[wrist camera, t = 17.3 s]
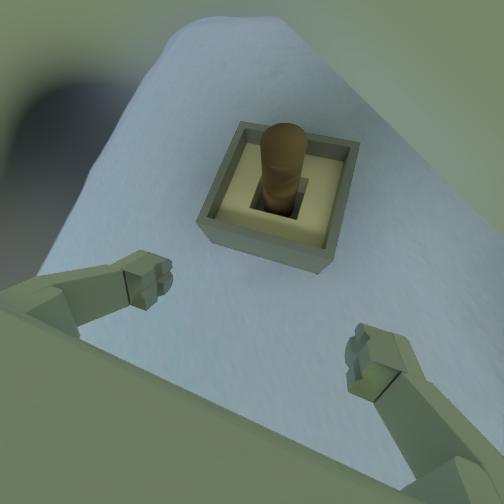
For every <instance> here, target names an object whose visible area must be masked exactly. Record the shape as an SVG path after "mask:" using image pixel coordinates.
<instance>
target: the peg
mask: <svg viewBox="0 0 504 504" xmlns="http://www.w3.org/2000/svg"><path fill="white" fill-rule="evenodd" d="M307 142H308V140H307V135H306V133H305V132H304V131H303V129H301V128H300V127H298V126H297V125H294V124H290V123H280V124H276V125H273V126H271V127H269V128H268V129H267V130H265V132H264V133H263V134H262V136H261V139H260V150H261V165H262V181H263V197H264V210H265V212H267V213H271V214H275V215H279V216H282V217H286V218H288V217H289V216H290V215H291V214H292V212H293V209H294V205H295V200H296V195H297V190H298V186H299V181H300V176H301V171H302V167H303V162H304V157H305V152H306V147H307Z"/></svg>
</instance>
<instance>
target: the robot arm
mask: <svg viewBox="0 0 504 504" xmlns="http://www.w3.org/2000/svg"><path fill="white" fill-rule="evenodd" d="M172 268H173V267H172V261H171V260H169V259H167V258H164V257H161V256H158V255H156V254H153V253H150V252H147V251H144V250H138V251H136V252H134V253H132V254H131V255H129V256H127V257H125V258H123V259H121V260H119V261H117V262H115V263H113V264H112V265H110V266H109V265H101V266H95V267H89V268H84V269H78V270H72V271H66V272H60V273H54V274H49V275H43V276H37V277H33V278H31V279H29V280H26V281H24V282H22V283H19V284H17V285H15V286H13V287H10V288H8V289H6V290H3V291H1V292H0V504H504V456H503V455H502V454H501V453H500V452H499V451H498V450H497V449H496V448H495V447H494V446H493V445H492V444H491V443H490V442H489V441H488V440H487V439H486V438H485V437H484V436H483V435H482V434H481V433H480V432H479V431H478V430H477V429H476V428H475V427H474V426H473V424H472V423H471V422H470V421H469V420H468V419H467V418H466V417H465V416H464V415H463V414H462V413H461V412H460V411H459V410H458V409H457V408H456V407H455V406H454V405H453V404H452V403H451V402H450V401H449V400H448V399H447V398H446V397H445V396H444V395H443V394H442V393H441V392H440V391H439V390H438V389H437V388H436V387H435V386H434V385H433V384H432V383H431V382H428V381H426V379H425V377H424V374H423V372H422V370H421V367H420V365H419V363H418V361H417V358H416V356H415V354H414V352H413V349H412V347H411V345H410V342H409V340H408V339H407V338H406V337H404V336H401V335H398V334H395V333H391V332H387V331H384V330H381V329H378V328H375V327H372V326H369V325H365V324H362V323H359V324H358V325H357V327H356V328H355V336H353V337H350V339H349V341H348V343H347V345H346V349H345V363H346V364H347V366H348V367H349V370H348V372H347V373H346V377H347V388H348V392H349V393H351V394H354V395H356V396H358V397H361V398H363V399H365V400H368V401H370V402H372V403H374V406H375V408H376V410H377V411H378V413H379V415H380V416H381V418H382V420H383V422H384V423H385V425H386V427H387V429H388V430H389V432H390V434H391V436H392V437H393V439H394V441H395V443H396V444H397V446H398V448H399V450H400V451H401V453H402V455H403V457H404V458H405V460H406V462H407V464H408V465H409V467H410V469H411V471H412V472H413V474H414V476H415V478H416V479H417V480H415V481H414V482H412V483H410V484H409V485H407V486H405V487H404V488H403V489H402V490H401V491H399V490H397V489H395V488H392V487H390V486H388V485H386V484H384V483H382V482H380V481H378V480H376V479H373V478H371V477H369V476H367V475H365V474H363V473H361V472H359V471H357V470H354V469H352V468H350V467H348V466H346V465H344V464H342V463H340V462H338V461H335V460H333V459H331V458H329V457H327V456H325V455H323V454H321V453H319V452H316V451H314V450H312V449H310V448H308V447H306V446H304V445H302V444H300V443H298V442H295V441H293V440H291V439H289V438H287V437H285V436H283V435H281V434H279V433H277V432H274V431H272V430H270V429H268V428H266V427H264V426H262V425H260V424H258V423H255V422H253V421H251V420H249V419H247V418H245V417H243V416H241V415H239V414H237V413H234V412H232V411H230V410H228V409H226V408H224V407H222V406H220V405H218V404H216V403H213V402H211V401H209V400H207V399H205V398H203V397H201V396H199V395H197V394H194V393H192V392H190V391H188V390H186V389H184V388H182V387H180V386H178V385H175V384H173V383H171V382H169V381H167V380H165V379H163V378H161V377H159V376H156V375H154V374H152V373H150V372H148V371H146V370H144V369H142V368H140V367H137V366H135V365H133V364H131V363H129V362H127V361H125V360H123V359H121V358H118V357H116V356H114V355H112V354H110V353H108V352H106V351H104V350H102V349H99V348H97V347H95V346H93V345H91V344H89V343H87V342H85V341H83V340H80V339H79V338H80V333H79V331H78V328H77V327H78V326H80V325H83V324H85V323H88V322H90V321H93V320H95V319H98V318H100V317H103V316H105V315H108V314H110V313H113V312H115V311H118V310H120V309H122V308H125V307H127V306H129V305H132V306H134V307H137V308H140V309H143V310H145V311H147V310H148V309H149V308H150V307H151V306H152V305H153V304H155V303H156V302H157V300H158V297H159V296H162V295H165V294H166V293H167V292H168V291H169V289H170V288H171V286H172V283H173V275H172V273H171V272H170V270H171V269H172Z"/></svg>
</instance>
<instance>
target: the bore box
mask: <svg viewBox="0 0 504 504" xmlns="http://www.w3.org/2000/svg"><path fill="white" fill-rule="evenodd" d="M269 127H270V126H265V125H259V124H253V123H248V122H242V121H240V123H239V126H238V128H237V130H236V132H235V135H234V137H233V139H232V141H231V144H230V146H229V148H228V150H227V153H226V155H225V157H224V159H223V162H222V164H221V166H220V168H219V171H218V173H217V175H216V177H215V180H214V182H213V184H212V187H211V189H210V191H209V193H208V196H207V198H206V200H205V202H204V205H203V207H202V209H201V211H200V214H199V216H198V218H197V220H196V223H197V225H198V226H199V227H200V228H201V230H202V231H203V232H204V233H205V235H206V236H207V237H208V239H209V240H210V241H211V242H212V243H215V244H218V245H221V246H225V247H228V248H231V249H235V250H238V251H242V252H245V253H248V254H252V255H255V256H258V257H262V258H265V259H269V260H272V261H275V262H279V263H282V264H285V265H289V266H292V267H296V268H299V269H302V270H306V271H309V272H312V273H316V274H319V273H320V272H321V271H322V270H323V269H324V268H326V267H327V266H328V265H329V264H330V263H331V262H332V261H333V258H334V254H335V250H336V245H337V241H338V237H339V232H340V228H341V224H342V219H343V215H344V211H345V206H346V202H347V198H348V193H349V189H350V185H351V180H352V176H353V172H354V167H355V163H356V159H357V154H358V150H359V146H360V142H354V141H349V140H343V139H337V138H332V137H326V136H321V135H315V134H309V133H306V135H307V140H308V142H307V147H306V152H305V157H304V162H303V167H302V171H301V176H300V181H299V186H298V190H297V195H296V200H295V205H294V209H293V212H292V214H291V215H290V216H289V217H288V218H286V217H282V216H279V215H275V214H271V213H267V212H265V210H264V197H263V181H262V165H261V150H260V139H261V136H262V134H263V133H264V132H265V130H267V129H268V128H269Z"/></svg>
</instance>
